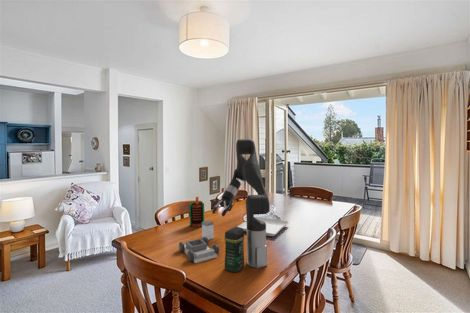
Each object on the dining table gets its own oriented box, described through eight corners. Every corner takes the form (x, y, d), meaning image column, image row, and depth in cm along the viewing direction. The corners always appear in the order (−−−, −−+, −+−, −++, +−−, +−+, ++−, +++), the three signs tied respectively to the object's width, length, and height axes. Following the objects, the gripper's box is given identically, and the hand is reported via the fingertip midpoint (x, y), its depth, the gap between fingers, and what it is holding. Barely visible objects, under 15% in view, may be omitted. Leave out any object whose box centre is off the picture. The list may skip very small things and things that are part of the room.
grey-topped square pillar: (213, 238, 155) (213, 221, 154) (207, 240, 151) (207, 224, 151) (208, 236, 158) (207, 220, 158) (202, 238, 154) (201, 222, 154)
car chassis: (220, 256, 130) (220, 246, 129) (191, 264, 122) (191, 254, 121) (203, 243, 147) (203, 234, 146) (178, 249, 139) (178, 240, 138)
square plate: (254, 220, 189) (254, 215, 189) (289, 226, 175) (289, 221, 175) (235, 232, 166) (235, 226, 166) (275, 239, 152) (275, 233, 152)
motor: (190, 228, 173) (190, 199, 172) (189, 224, 182) (188, 196, 181) (205, 226, 176) (204, 198, 175) (203, 222, 185) (203, 195, 183)
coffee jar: (237, 274, 112) (236, 233, 111) (222, 270, 116) (221, 230, 115) (247, 265, 120) (246, 226, 119) (232, 261, 124) (232, 224, 123)
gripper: (219, 189, 171) (206, 209, 163) (235, 191, 161) (222, 213, 153) (225, 195, 175) (213, 215, 167) (240, 198, 166) (228, 219, 158)
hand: (217, 214), depth 160 cm, fingers open, 8 cm apart
